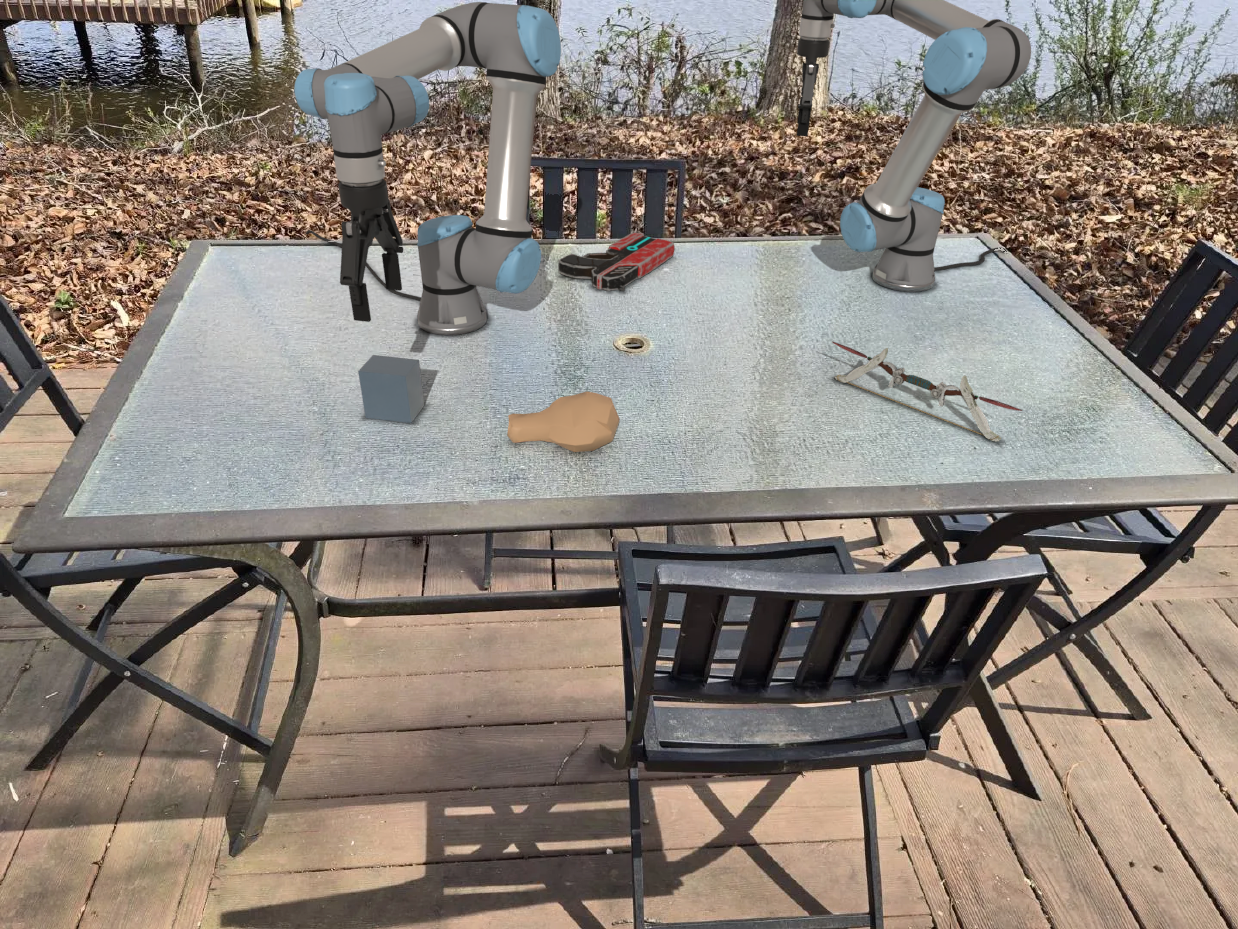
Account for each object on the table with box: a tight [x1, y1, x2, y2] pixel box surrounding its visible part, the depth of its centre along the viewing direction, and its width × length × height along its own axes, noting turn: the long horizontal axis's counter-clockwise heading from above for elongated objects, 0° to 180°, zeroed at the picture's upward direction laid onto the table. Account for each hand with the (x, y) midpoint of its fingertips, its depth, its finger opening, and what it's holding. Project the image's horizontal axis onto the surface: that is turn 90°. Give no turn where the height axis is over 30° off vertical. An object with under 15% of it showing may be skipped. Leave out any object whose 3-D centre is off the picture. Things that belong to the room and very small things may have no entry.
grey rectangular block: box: [357, 354, 425, 424], centre depth 161 cm, size 7×9×10 cm
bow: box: [831, 341, 1023, 443], centre depth 166 cm, size 39×2×10 cm, turn 47°
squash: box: [506, 390, 621, 453], centre depth 154 cm, size 11×20×9 cm, turn 90°
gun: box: [557, 232, 676, 292], centre depth 225 cm, size 4×31×19 cm
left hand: (379, 304), depth 152 cm, fingers open, 13 cm apart
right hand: (802, 129), depth 224 cm, fingers open, 13 cm apart
